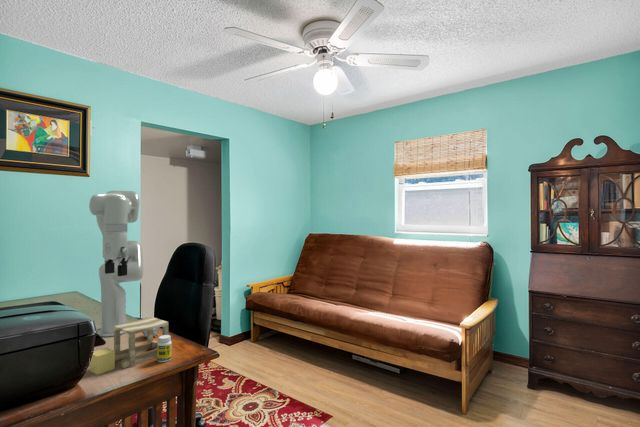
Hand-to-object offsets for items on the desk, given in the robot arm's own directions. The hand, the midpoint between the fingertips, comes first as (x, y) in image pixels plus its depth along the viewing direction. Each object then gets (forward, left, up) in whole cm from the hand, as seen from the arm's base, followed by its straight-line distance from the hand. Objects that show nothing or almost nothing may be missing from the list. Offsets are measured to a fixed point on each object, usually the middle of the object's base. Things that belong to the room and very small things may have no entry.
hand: (115, 274), depth 129 cm
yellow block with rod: (+9, -14, -30) cm, 35 cm away
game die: (-8, +18, -31) cm, 36 cm away
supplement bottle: (+19, +8, -31) cm, 37 cm away
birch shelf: (+9, +5, -30) cm, 32 cm away
